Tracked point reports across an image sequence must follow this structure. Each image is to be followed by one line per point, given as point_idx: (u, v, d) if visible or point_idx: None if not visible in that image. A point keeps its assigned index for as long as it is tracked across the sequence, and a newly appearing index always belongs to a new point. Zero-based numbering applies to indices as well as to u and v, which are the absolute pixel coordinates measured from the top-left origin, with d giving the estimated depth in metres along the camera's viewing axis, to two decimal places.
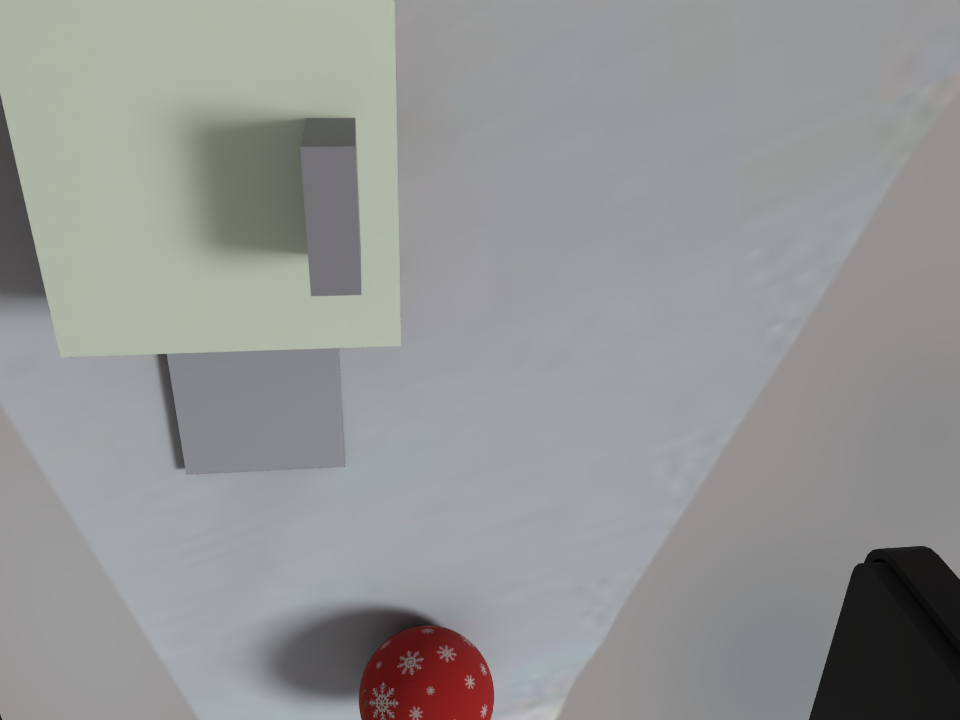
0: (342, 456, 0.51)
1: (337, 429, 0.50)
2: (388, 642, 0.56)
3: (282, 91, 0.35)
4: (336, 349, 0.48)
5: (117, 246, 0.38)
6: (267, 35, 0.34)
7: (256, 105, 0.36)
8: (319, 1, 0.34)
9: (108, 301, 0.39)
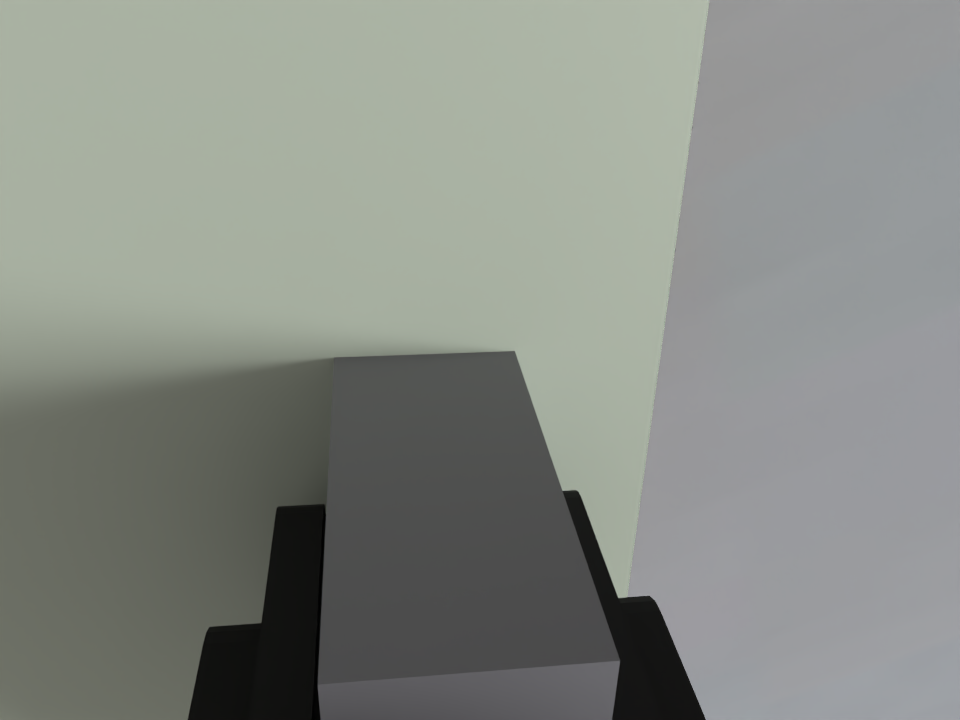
0: None
1: None
2: None
3: (242, 266, 0.09)
4: None
5: None
6: (170, 47, 0.08)
7: (137, 319, 0.09)
8: None
9: None
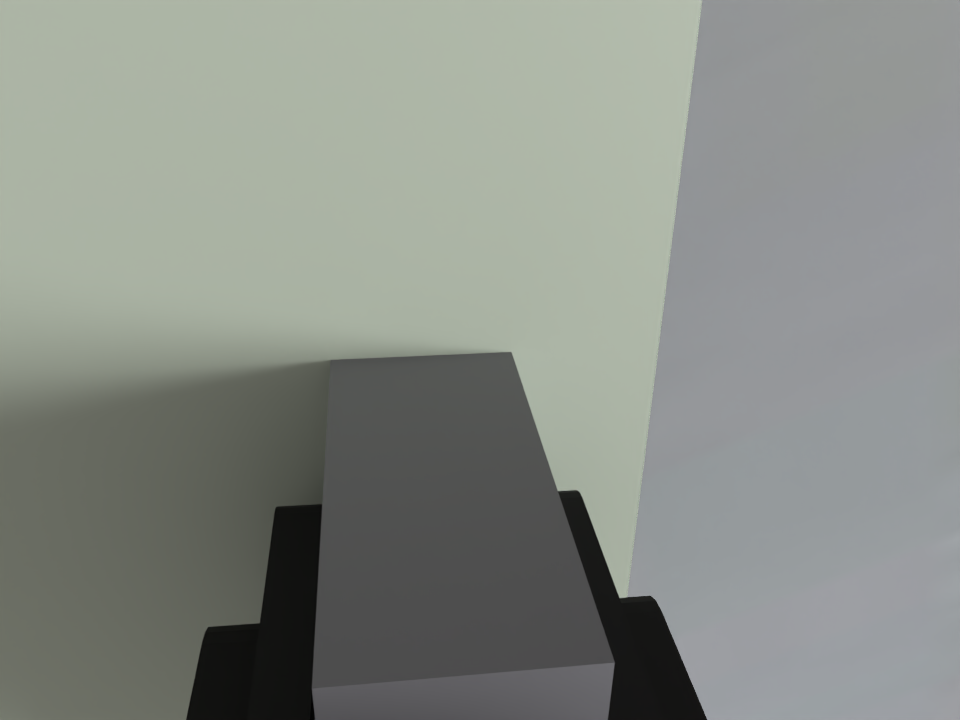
0: None
1: None
2: None
3: (237, 270, 0.09)
4: None
5: None
6: (163, 51, 0.08)
7: (134, 323, 0.09)
8: None
9: None
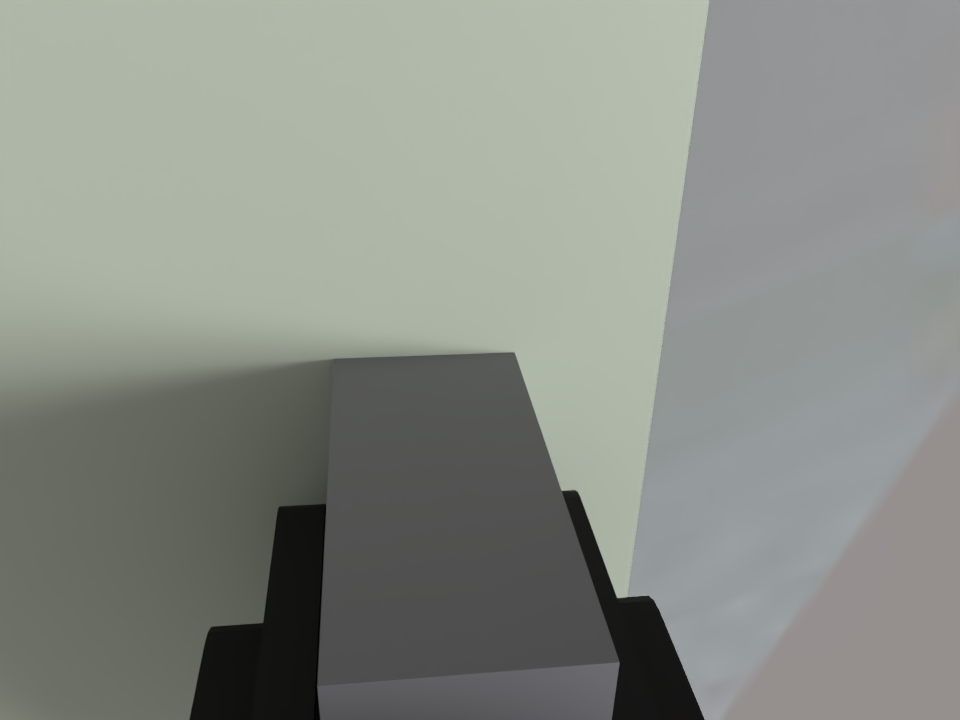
0: None
1: None
2: None
3: (242, 268, 0.09)
4: None
5: None
6: (170, 49, 0.08)
7: (137, 321, 0.09)
8: None
9: None
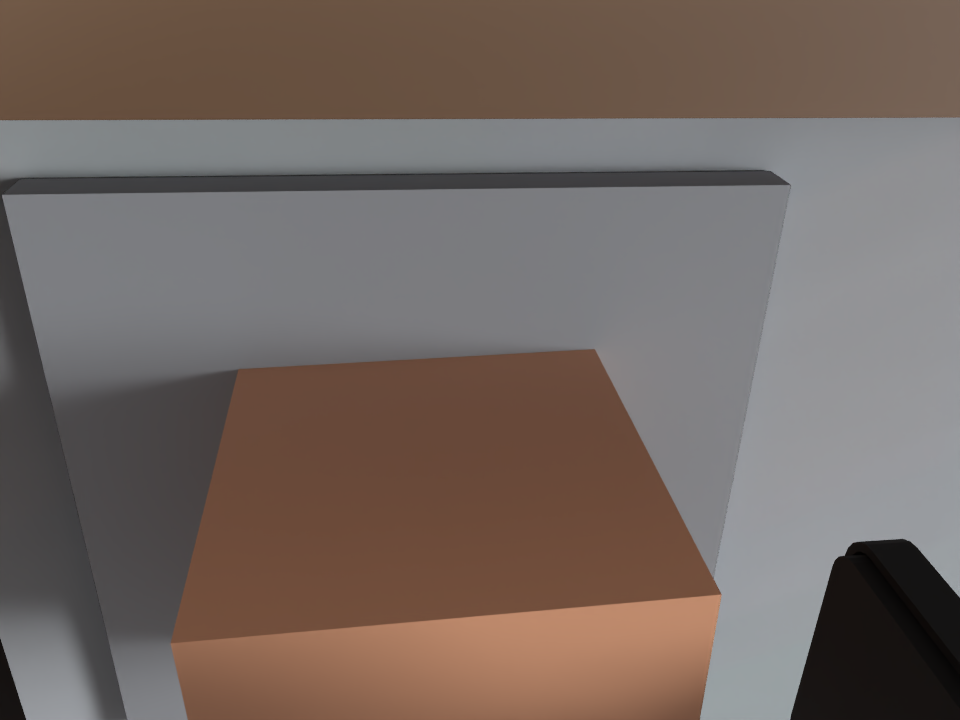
0: None
1: None
2: None
3: None
4: (765, 280, 0.11)
5: None
6: None
7: None
8: None
9: None
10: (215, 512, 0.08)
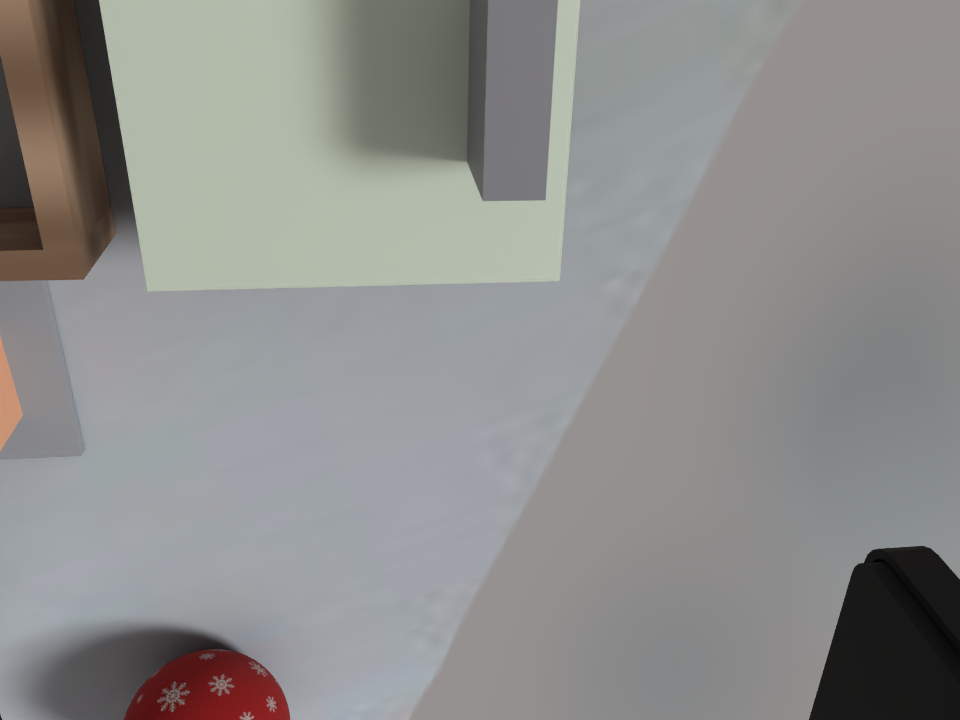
0: (75, 442, 0.41)
1: (63, 408, 0.40)
2: (159, 670, 0.46)
3: None
4: (45, 306, 0.38)
5: (224, 147, 0.30)
6: None
7: None
8: None
9: (210, 219, 0.31)
10: None
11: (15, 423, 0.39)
